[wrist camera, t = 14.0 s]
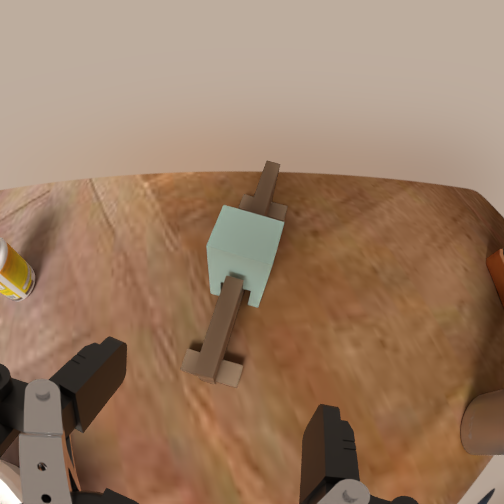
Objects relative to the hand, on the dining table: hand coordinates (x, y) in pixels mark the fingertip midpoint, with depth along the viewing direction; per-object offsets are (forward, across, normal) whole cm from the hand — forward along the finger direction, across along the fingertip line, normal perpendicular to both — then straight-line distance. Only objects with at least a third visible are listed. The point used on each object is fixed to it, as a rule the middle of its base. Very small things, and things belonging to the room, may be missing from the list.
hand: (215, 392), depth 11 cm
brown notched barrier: (+24, +2, +5) cm, 25 cm away
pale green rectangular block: (+24, +2, +5) cm, 25 cm away
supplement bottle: (+17, +30, +12) cm, 37 cm away
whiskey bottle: (+34, -43, -4) cm, 55 cm away
